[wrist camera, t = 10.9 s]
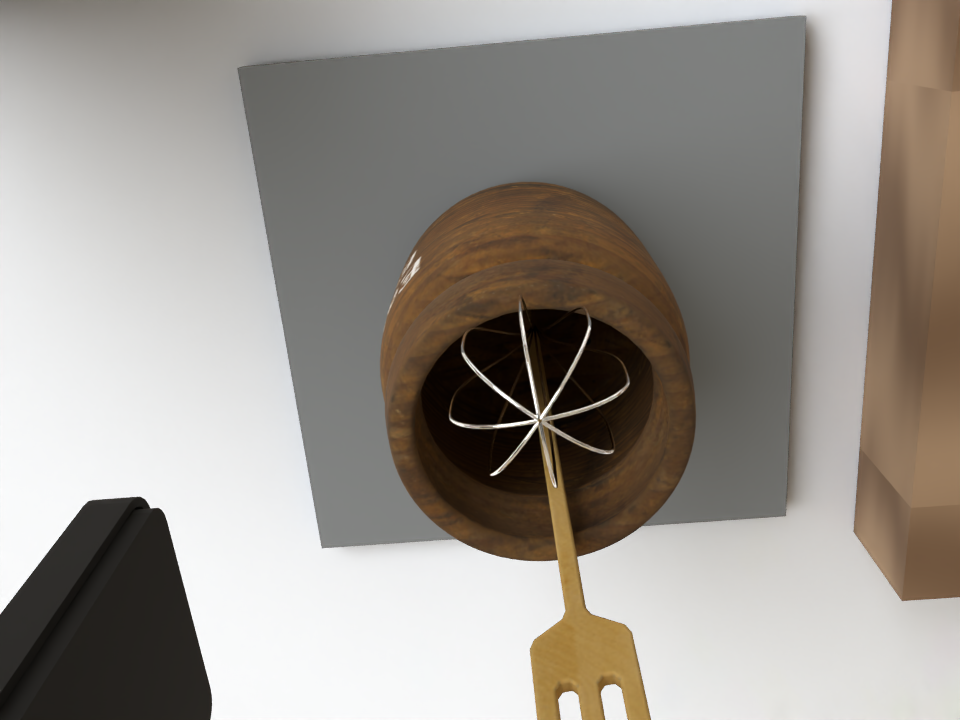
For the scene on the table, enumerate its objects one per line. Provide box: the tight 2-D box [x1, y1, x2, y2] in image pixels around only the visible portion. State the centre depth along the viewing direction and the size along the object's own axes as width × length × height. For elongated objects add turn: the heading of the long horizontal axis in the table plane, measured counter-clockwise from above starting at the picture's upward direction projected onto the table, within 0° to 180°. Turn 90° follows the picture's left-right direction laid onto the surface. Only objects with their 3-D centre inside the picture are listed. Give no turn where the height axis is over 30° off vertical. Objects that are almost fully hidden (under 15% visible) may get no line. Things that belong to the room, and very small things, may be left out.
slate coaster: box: [238, 16, 806, 548], centre depth 21 cm, size 12×12×1 cm
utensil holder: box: [380, 182, 696, 720], centre depth 15 cm, size 6×6×12 cm
